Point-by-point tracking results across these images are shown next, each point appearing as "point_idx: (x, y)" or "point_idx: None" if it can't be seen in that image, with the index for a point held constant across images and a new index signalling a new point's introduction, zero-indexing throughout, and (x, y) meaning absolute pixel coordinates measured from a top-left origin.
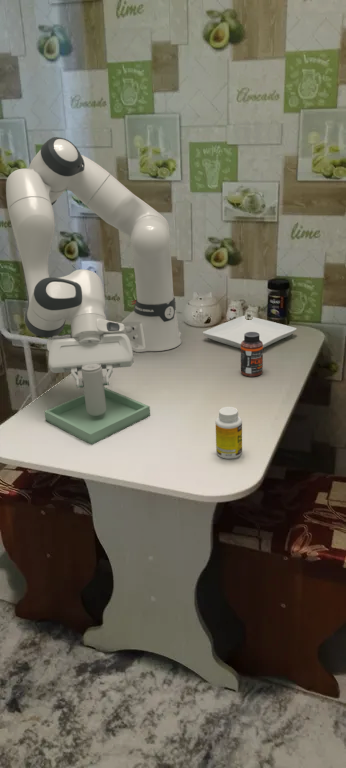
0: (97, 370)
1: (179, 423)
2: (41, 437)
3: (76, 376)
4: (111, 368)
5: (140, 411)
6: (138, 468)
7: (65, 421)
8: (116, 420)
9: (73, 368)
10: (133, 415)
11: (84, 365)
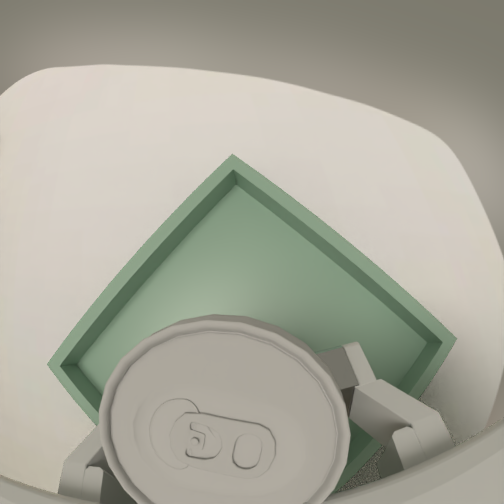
0: (133, 359)
1: (8, 300)
2: (412, 224)
3: (381, 393)
4: (69, 464)
5: (71, 333)
6: (114, 93)
7: (358, 252)
8: (145, 256)
9: (432, 449)
10: (92, 308)
11: (322, 487)
